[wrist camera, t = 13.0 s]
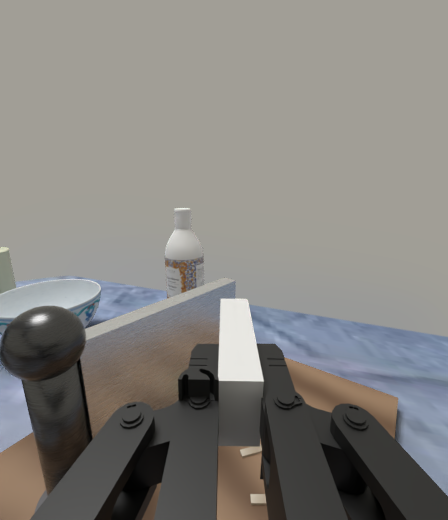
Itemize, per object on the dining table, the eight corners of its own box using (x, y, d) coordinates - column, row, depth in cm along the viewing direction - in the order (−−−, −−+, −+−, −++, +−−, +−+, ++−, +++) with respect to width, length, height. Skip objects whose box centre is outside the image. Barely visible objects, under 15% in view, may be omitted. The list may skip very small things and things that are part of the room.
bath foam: (160, 314, 52) (153, 208, 47) (186, 302, 58) (182, 206, 53) (186, 325, 48) (181, 210, 43) (211, 311, 54) (210, 208, 48)
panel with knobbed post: (50, 546, 17) (1, 336, 13) (29, 495, 20) (-17, 310, 16) (243, 380, 31) (246, 258, 27) (215, 364, 34) (214, 251, 30)
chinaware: (101, 358, 39) (94, 308, 37) (-28, 379, 35) (-43, 325, 33) (109, 313, 53) (104, 275, 51) (18, 325, 48) (9, 283, 46)
